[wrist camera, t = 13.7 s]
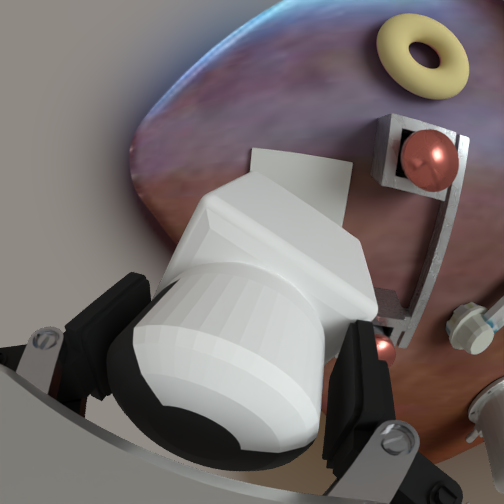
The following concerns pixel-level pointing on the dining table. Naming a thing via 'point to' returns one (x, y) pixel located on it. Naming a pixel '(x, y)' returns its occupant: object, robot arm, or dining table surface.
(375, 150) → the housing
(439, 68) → the donut
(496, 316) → the grey piece
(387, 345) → the plunger
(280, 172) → the mat
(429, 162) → the plunger
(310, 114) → the dining table surface
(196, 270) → the medicine bottle
